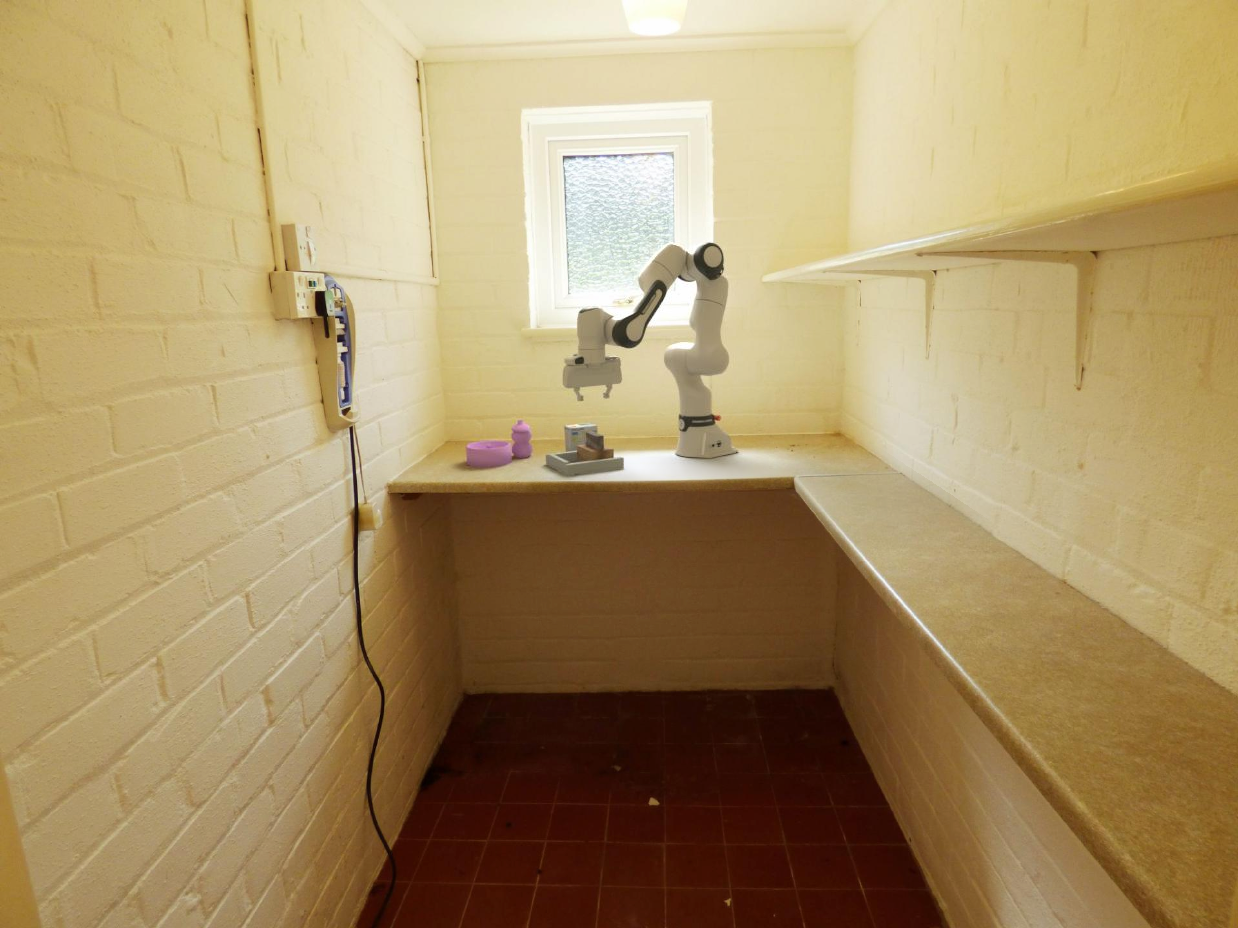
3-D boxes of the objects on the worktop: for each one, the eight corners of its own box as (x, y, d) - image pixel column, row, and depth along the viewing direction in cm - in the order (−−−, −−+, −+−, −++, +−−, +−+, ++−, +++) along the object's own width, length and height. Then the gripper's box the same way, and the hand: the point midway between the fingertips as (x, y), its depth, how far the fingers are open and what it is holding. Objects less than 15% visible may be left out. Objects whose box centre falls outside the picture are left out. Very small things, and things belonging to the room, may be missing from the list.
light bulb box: (591, 451, 265) (590, 422, 262) (599, 454, 259) (598, 424, 256) (564, 454, 260) (563, 424, 258) (571, 457, 254) (570, 427, 252)
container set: (481, 470, 239) (479, 431, 236) (459, 463, 250) (456, 425, 247) (543, 458, 255) (541, 421, 252) (519, 451, 266) (517, 416, 263)
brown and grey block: (598, 459, 249) (597, 430, 247) (613, 466, 239) (613, 435, 237) (577, 462, 246) (576, 432, 244) (592, 469, 235) (591, 438, 233)
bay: (599, 457, 253) (599, 446, 252) (623, 468, 237) (623, 456, 236) (546, 464, 245) (545, 452, 244) (567, 475, 228) (567, 463, 227)
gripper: (616, 354, 241) (617, 395, 245) (559, 359, 233) (561, 401, 236) (624, 356, 236) (625, 397, 239) (567, 360, 227) (569, 403, 230)
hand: (593, 399), depth 237 cm, fingers open, 8 cm apart
